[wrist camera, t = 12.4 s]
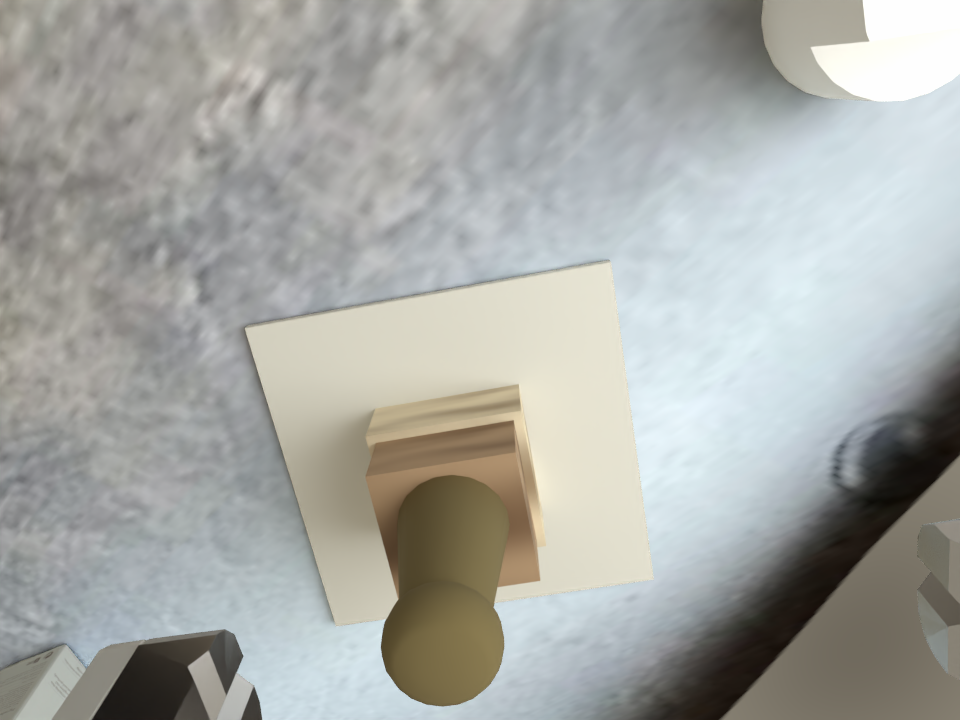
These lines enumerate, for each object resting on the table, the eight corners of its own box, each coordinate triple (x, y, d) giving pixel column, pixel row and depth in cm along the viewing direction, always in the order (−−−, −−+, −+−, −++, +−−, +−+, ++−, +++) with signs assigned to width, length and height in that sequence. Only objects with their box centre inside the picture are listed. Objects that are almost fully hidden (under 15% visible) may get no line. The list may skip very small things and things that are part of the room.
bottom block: (375, 408, 48) (365, 436, 44) (518, 384, 47) (520, 410, 44) (407, 532, 51) (400, 568, 47) (542, 511, 50) (546, 545, 47)
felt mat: (247, 325, 47) (244, 328, 47) (609, 259, 45) (610, 262, 45) (337, 620, 54) (335, 626, 54) (651, 574, 53) (653, 579, 52)
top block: (375, 443, 45) (365, 476, 41) (513, 420, 44) (515, 452, 40) (406, 560, 47) (398, 601, 43) (536, 540, 47) (540, 580, 43)
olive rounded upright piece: (467, 590, 43) (459, 752, 33) (375, 536, 42) (337, 685, 32) (532, 513, 41) (545, 659, 31) (438, 454, 40) (419, 584, 30)
